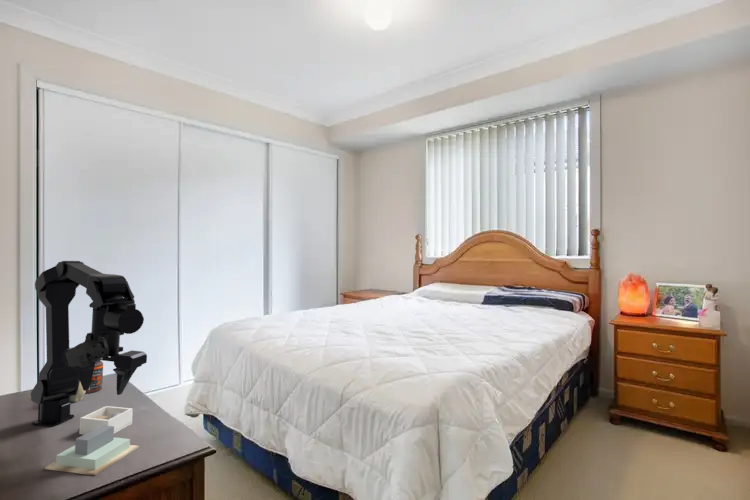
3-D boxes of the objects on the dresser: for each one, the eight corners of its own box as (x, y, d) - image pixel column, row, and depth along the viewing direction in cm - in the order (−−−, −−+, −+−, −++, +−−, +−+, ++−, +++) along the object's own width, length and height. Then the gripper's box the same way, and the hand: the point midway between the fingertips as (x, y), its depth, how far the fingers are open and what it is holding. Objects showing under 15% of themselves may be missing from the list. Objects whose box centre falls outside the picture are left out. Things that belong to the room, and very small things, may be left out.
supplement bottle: (90, 394, 125) (91, 358, 125) (75, 392, 126) (76, 357, 126) (106, 388, 131) (108, 354, 131) (91, 386, 132) (93, 352, 132)
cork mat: (45, 469, 82) (45, 467, 82) (93, 442, 94) (93, 440, 94) (95, 475, 81) (95, 473, 81) (138, 447, 92) (138, 445, 92)
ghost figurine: (59, 400, 119) (60, 374, 119) (78, 395, 124) (79, 370, 124) (69, 404, 116) (70, 377, 116) (89, 398, 121) (90, 373, 121)
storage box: (79, 433, 98) (80, 418, 98) (105, 420, 106) (106, 406, 106) (107, 437, 97) (108, 420, 97) (132, 423, 105) (132, 408, 105)
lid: (55, 464, 83) (57, 440, 84) (94, 443, 93) (95, 421, 93) (95, 469, 82) (96, 444, 82) (129, 447, 91) (130, 425, 92)
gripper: (39, 330, 88) (36, 400, 88) (112, 338, 85) (108, 410, 85) (84, 322, 99) (80, 384, 99) (150, 328, 96) (146, 392, 96)
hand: (102, 392), depth 94 cm, fingers open, 9 cm apart
